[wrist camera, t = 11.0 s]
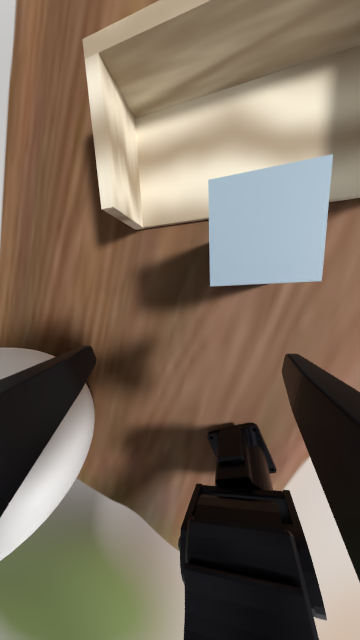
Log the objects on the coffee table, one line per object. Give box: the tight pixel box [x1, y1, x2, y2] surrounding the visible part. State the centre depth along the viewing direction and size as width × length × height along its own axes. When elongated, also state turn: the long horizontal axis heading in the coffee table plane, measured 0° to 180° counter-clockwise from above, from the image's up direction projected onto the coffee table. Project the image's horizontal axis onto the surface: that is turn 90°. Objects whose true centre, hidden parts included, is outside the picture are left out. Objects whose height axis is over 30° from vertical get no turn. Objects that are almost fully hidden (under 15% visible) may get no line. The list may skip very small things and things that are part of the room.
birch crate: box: [83, 0, 360, 230], centre depth 14 cm, size 12×24×6 cm, turn 93°
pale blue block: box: [208, 154, 333, 286], centre depth 13 cm, size 5×5×11 cm
